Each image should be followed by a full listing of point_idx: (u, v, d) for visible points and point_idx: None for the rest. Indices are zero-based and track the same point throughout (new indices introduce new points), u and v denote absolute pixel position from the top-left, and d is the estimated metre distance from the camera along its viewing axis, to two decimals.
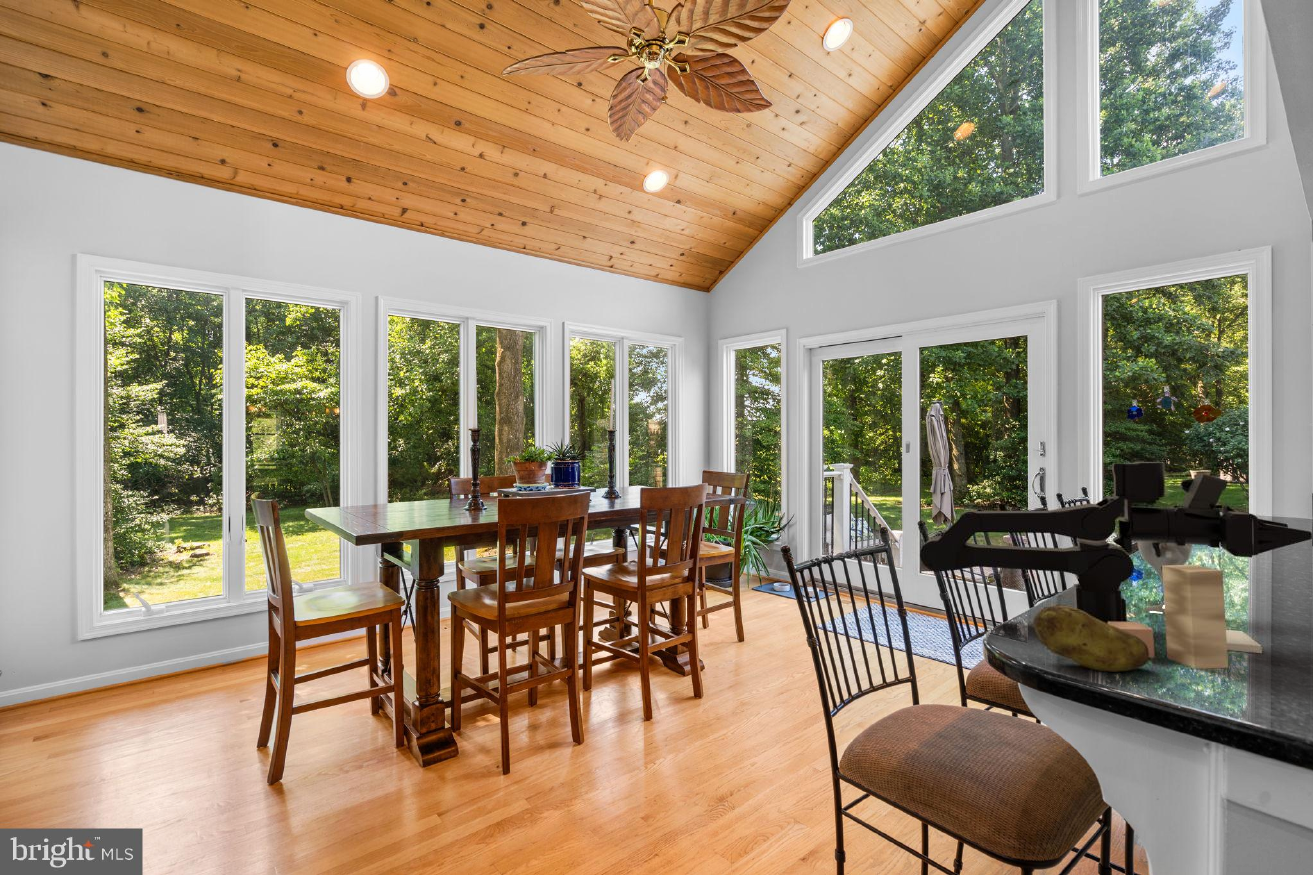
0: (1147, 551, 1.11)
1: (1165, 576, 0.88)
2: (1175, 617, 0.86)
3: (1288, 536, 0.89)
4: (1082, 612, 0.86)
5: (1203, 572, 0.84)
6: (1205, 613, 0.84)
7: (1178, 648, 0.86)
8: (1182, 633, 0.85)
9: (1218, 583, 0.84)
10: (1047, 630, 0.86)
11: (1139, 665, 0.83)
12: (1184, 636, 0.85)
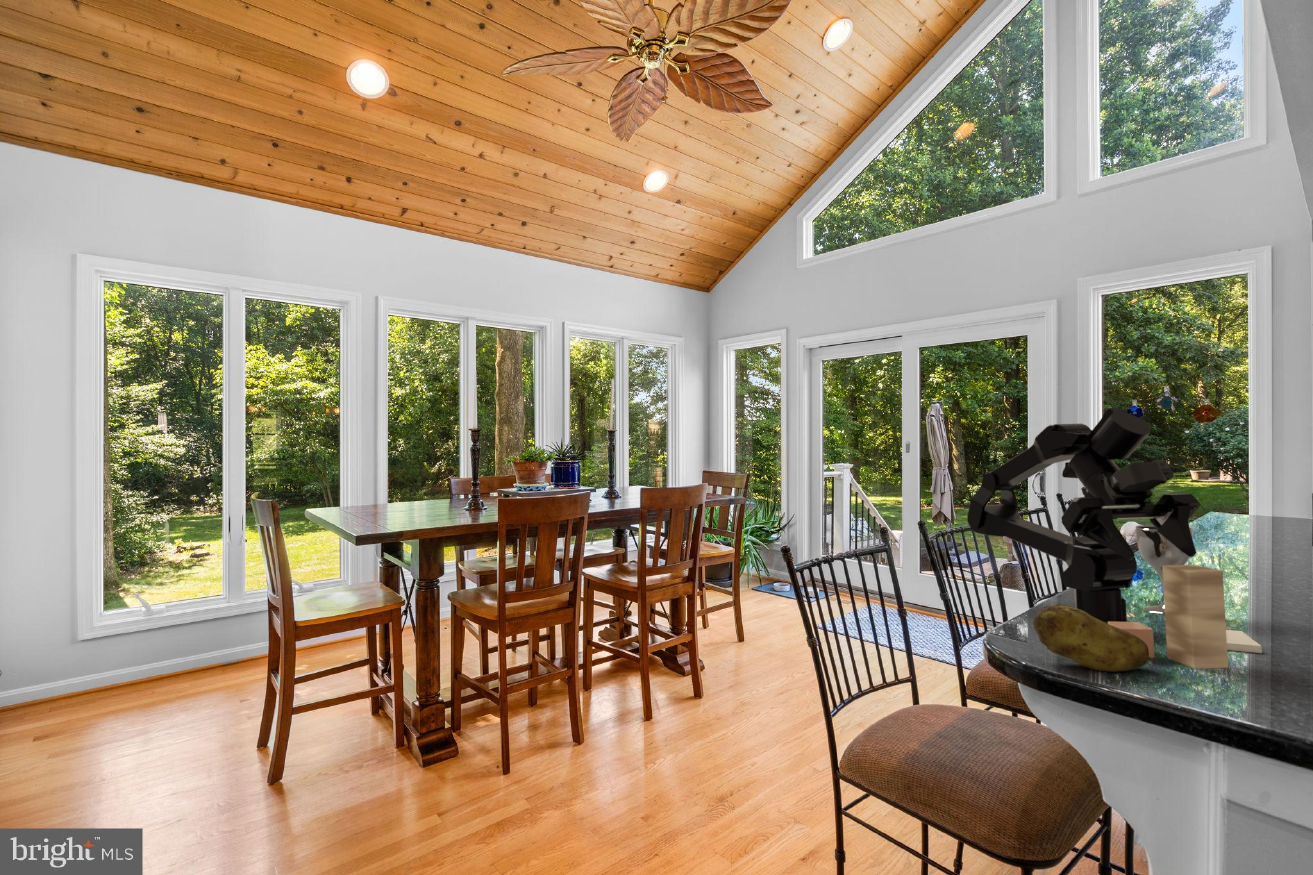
0: (1147, 551, 1.11)
1: (1165, 576, 0.88)
2: (1175, 617, 0.86)
3: (1114, 544, 0.94)
4: (1082, 612, 0.86)
5: (1203, 572, 0.84)
6: (1205, 613, 0.84)
7: (1178, 648, 0.86)
8: (1182, 633, 0.85)
9: (1218, 583, 0.84)
10: (1047, 629, 0.86)
11: (1139, 665, 0.83)
12: (1184, 636, 0.85)
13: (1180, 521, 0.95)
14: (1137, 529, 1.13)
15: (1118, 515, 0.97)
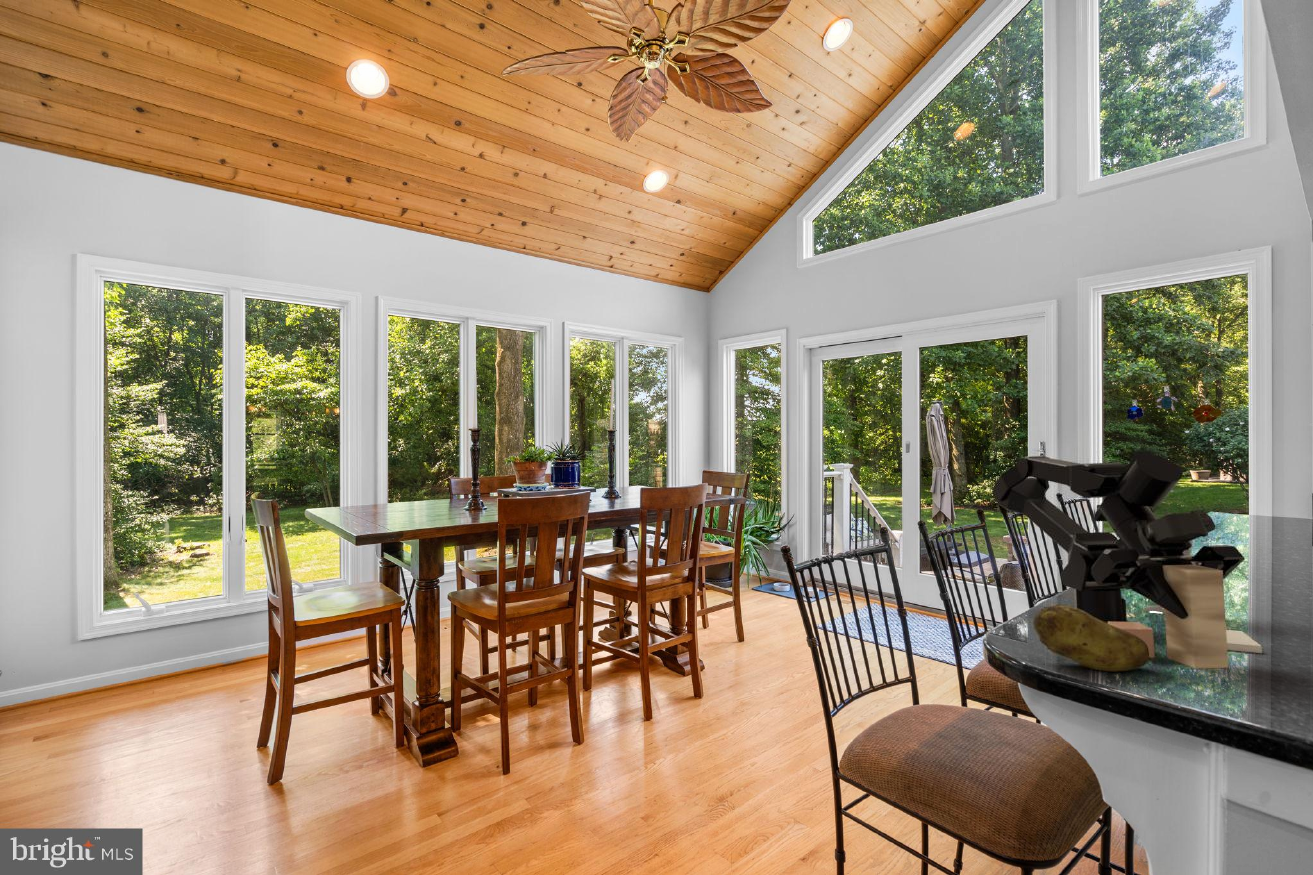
0: None
1: (1165, 576, 0.88)
2: (1175, 617, 0.86)
3: (1165, 601, 0.87)
4: (1082, 612, 0.86)
5: (1203, 572, 0.84)
6: (1206, 613, 0.84)
7: (1178, 647, 0.86)
8: (1182, 633, 0.85)
9: (1218, 583, 0.84)
10: (1047, 629, 0.86)
11: (1139, 665, 0.83)
12: (1184, 636, 0.85)
13: None
14: None
15: None
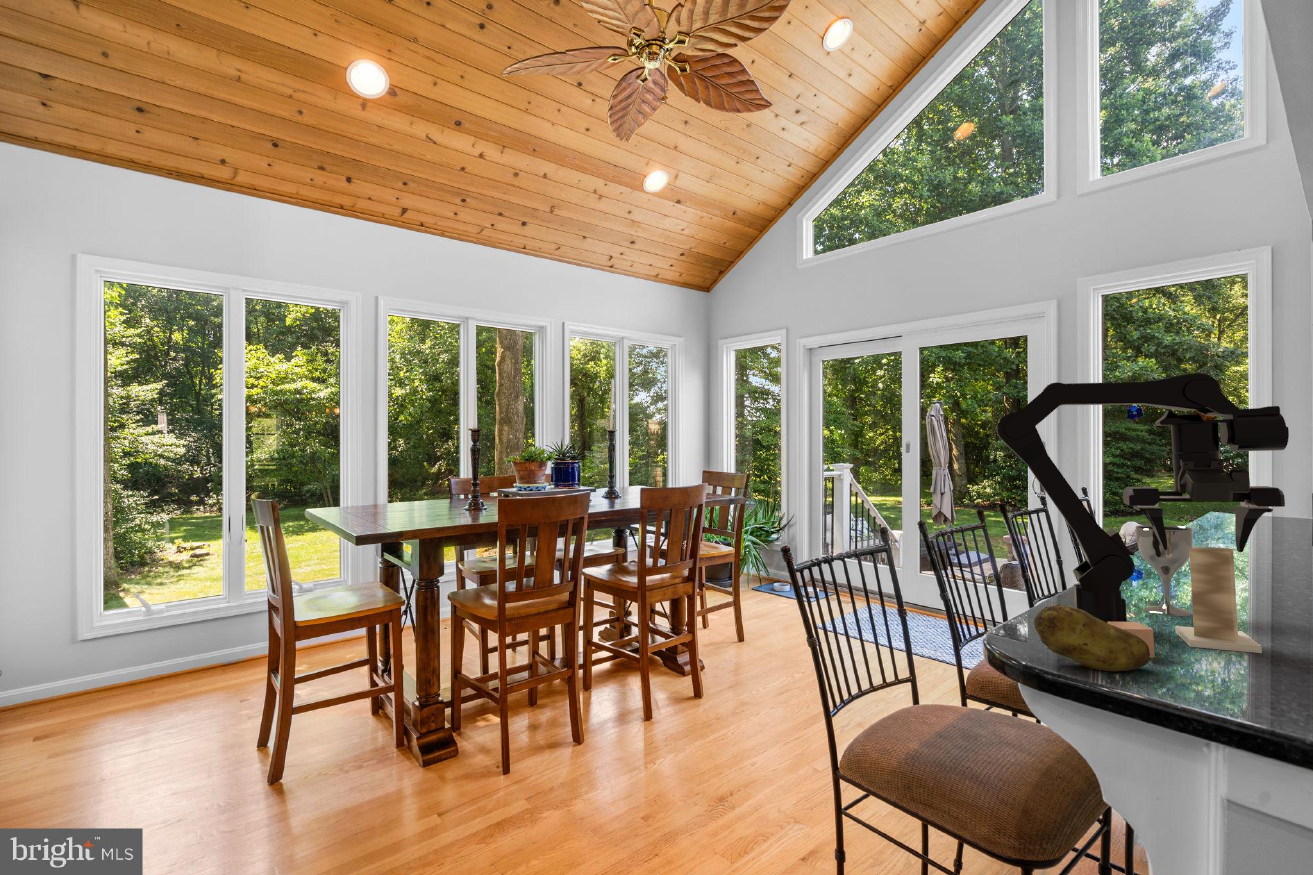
0: (1147, 551, 1.11)
1: (1194, 559, 0.94)
2: (1207, 597, 0.93)
3: (1156, 533, 1.02)
4: (1083, 612, 0.86)
5: (1230, 552, 0.93)
6: (1233, 589, 0.92)
7: (1211, 624, 0.93)
8: (1217, 610, 0.92)
9: (1233, 560, 0.94)
10: (1047, 629, 0.86)
11: (1140, 665, 0.83)
12: (1220, 613, 0.92)
13: (1246, 520, 0.95)
14: (1137, 529, 1.13)
15: (1182, 501, 1.00)
